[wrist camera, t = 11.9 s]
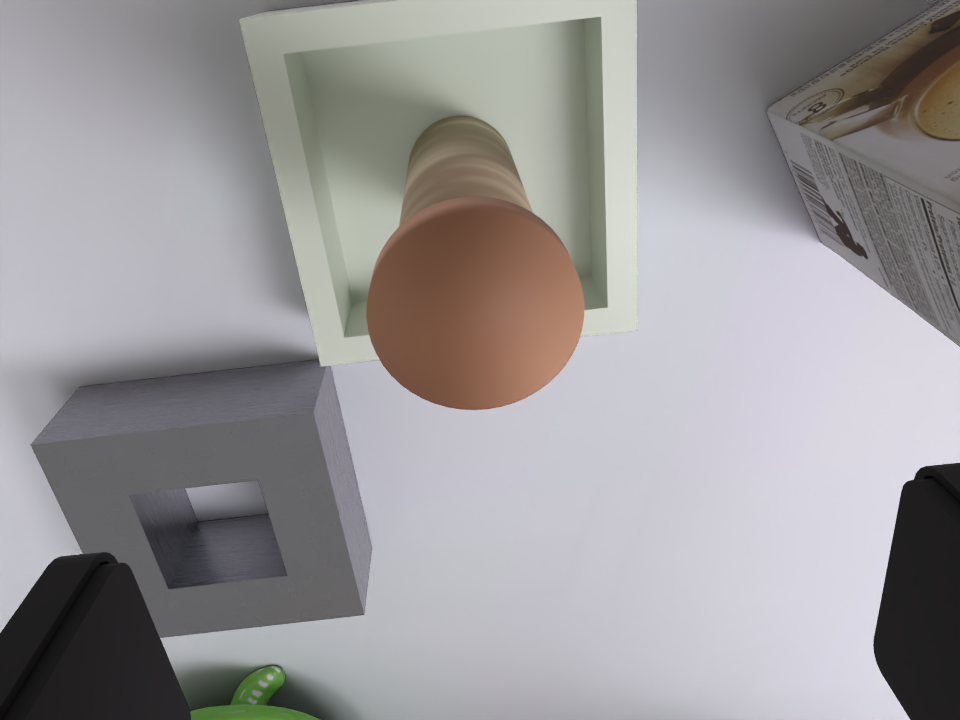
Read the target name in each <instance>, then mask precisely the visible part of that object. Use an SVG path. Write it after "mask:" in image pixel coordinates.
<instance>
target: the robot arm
mask: <svg viewBox="0 0 960 720" xmlns="http://www.w3.org/2000/svg"><path fill="white" fill-rule="evenodd" d="M873 646H874V654H875V658H876V662H877V664H878V667H879V669H880V671H881V673H882V675H883V677H884V678H885V680H886V681H887V683H888V685H889V686H890V688H891V689H892V691H893V693H894V694H895V696H896V697H897V699H898V701H899V702H900V704H901V705H902V707H903V709H904V710H905V712H906V713H907V715H908V716H909V718H910V720H960V463H954V464H944V465H934V466H926V467H923V468H920V470H919V471H918V472H917V473H916V475H915V478H914V480H911V481H908V482H906V483H905V484H904V486H903V489H902V492H901V497H900V503H899V508H898V513H897V519H896V524H895V529H894V535H893V540H892V545H891V551H890V556H889V561H888V567H887V572H886V577H885V583H884V588H883V593H882V599H881V604H880V609H879V615H878V620H877V626H876V631H875V636H874V645H873ZM0 720H191V713H190V710H189V707H188V704H187V702H186V700H185V697H184V695H183V692H182V690H181V688H180V685H179V683H178V680H177V678H176V676H175V673H174V671H173V668H172V666H171V663H170V661H169V659H168V656H167V654H166V651H165V649H164V647H163V644H162V642H161V639H160V637H159V635H158V632H157V630H156V627H155V625H154V622H153V620H152V618H151V615H150V613H149V610H148V608H147V606H146V603H145V601H144V598H143V596H142V593H141V591H140V589H139V586H138V584H137V581H136V579H135V577H134V574H133V572H132V570H131V568H130V566H129V565H127V564H126V563H118V561H117V560H116V558H115V557H114V556H113V555H112V554H111V553H107V552H100V553H90V554H80V555H71V556H61V557H58V558H56V559H54V560H53V561H52V562H51V563H50V564H49V565H48V566H47V568H46V569H45V571H44V572H43V574H42V575H41V576H40V578H39V579H38V581H37V582H36V583H35V585H34V586H33V588H32V589H31V591H30V592H29V593H28V595H27V596H26V598H25V599H24V600H23V602H22V603H21V605H20V606H19V608H18V609H17V610H16V612H15V613H14V615H13V616H12V617H11V619H10V620H9V622H8V623H7V625H6V626H5V627H4V629H3V630H2V632H1V633H0Z"/></svg>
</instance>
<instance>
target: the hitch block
mask: <svg viewBox="0 0 960 720" xmlns="http://www.w3.org/2000/svg"><path fill="white" fill-rule="evenodd" d="M31 446H32V449H33V451H34V453H35V455H36V457H37V459H38V461H39V463H40V465H41V467H42V469H43V471H44V473H45V476H46V478H47V480H48V482H49V484H50V486H51V488H52V490H53V492H54V494H55V496H56V498H57V501H58V503H59V505H60V507H61V509H62V511H63V513H64V515H65V517H66V519H67V521H68V523H69V526H70V528H71V530H72V532H73V534H74V536H75V538H76V540H77V542H78V544H79V546H80V548H81V550H82V553H83V554H90V553H100V552H107V553H111V554H112V555H113V556H114V557H115V558H116V560H117V561H118V563H126V564H127V565H129V566H130V568H131V570H132V572H133V574H134V577H135V579H136V581H137V584H138V586H139V589H140V591H141V593H142V596H143V598H144V601H145V603H146V606H147V608H148V610H149V613H150V615H151V618H152V620H153V622H154V625H155V627H156V630H157V632H158V635H159V637H160V638H163V637H172V636H181V635H190V634H199V633H208V632H217V631H225V630H234V629H243V628H252V627H261V626H270V625H279V624H288V623H297V622H306V621H315V620H324V619H333V618H341V617H350V616H359V615H364V614H365V605H366V596H367V587H368V579H369V570H370V561H371V553H372V545H371V541H370V536H369V532H368V528H367V523H366V519H365V515H364V510H363V506H362V502H361V497H360V493H359V488H358V484H357V480H356V475H355V471H354V467H353V462H352V458H351V454H350V449H349V445H348V441H347V436H346V432H345V428H344V423H343V419H342V414H341V410H340V406H339V401H338V397H337V393H336V388H335V384H334V380H333V375H332V371H331V367H330V366H323V367H321V365H320V361H319V360H310V361H302V362H293V363H284V364H275V365H267V366H258V367H249V368H240V369H232V370H223V371H214V372H205V373H197V374H188V375H179V376H171V377H162V378H153V379H144V380H136V381H127V382H118V383H109V384H101V385H92V386H83V387H79V388H78V389H77V390H76V392H75V393H74V394H73V395H72V396H71V398H70V399H69V400H68V401H67V402H66V403H65V405H64V406H63V407H62V408H61V409H60V411H59V412H58V413H57V414H56V415H55V417H54V418H53V419H52V420H51V421H50V422H49V424H48V425H47V426H46V427H45V428H44V430H43V431H42V432H41V433H40V434H39V435H38V437H37V438H36V439H35V440H34V441H33V443H32V444H31ZM253 480H258V481H259V484H260V488H261V491H262V494H263V497H264V500H265V504H266V507H267V510H268V513H269V514H266V515H257V516H248V517H240V518H231V519H222V520H213V521H204V522H197V520H196V518H195V515H194V512H193V509H192V507H191V504H190V501H189V499H188V496H187V493H186V491H185V488H192V487H200V486H209V485H218V484H227V483H236V482H245V481H253Z"/></svg>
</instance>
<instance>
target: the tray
mask: <svg viewBox="0 0 960 720" xmlns="http://www.w3.org/2000/svg"><path fill="white" fill-rule="evenodd" d="M239 23H240V27H241V31H242V36H243V40H244V44H245V48H246V53H247V57H248V61H249V65H250V69H251V74H252V78H253V82H254V86H255V91H256V95H257V99H258V103H259V107H260V112H261V116H262V120H263V124H264V129H265V133H266V137H267V141H268V145H269V150H270V154H271V158H272V162H273V167H274V171H275V175H276V179H277V183H278V188H279V192H280V196H281V200H282V205H283V209H284V213H285V217H286V221H287V226H288V230H289V234H290V238H291V243H292V247H293V251H294V255H295V259H296V264H297V268H298V272H299V276H300V281H301V285H302V289H303V293H304V297H305V302H306V306H307V310H308V314H309V318H310V323H311V327H312V331H313V335H314V340H315V344H316V348H317V352H318V356H319V361H320V365H321V367H323V366H331V365H340V364H349V363H358V362H366V361H375V360H380V359H379V358H378V356H377V354H376V352H375V350H374V347H373V345H372V343H371V339H370V336H369V332H368V326H367V318H366V312H367V299H368V293H369V288H370V283H371V278H372V274H373V270H374V267H375V264H376V261H377V258H378V256H379V254H380V252H381V250H382V248H383V247H384V245H385V244H386V242H387V241H388V239H389V238H390V236H391V235H392V234H393V233H394V232H395V231H396V230H397V228H398V227H399V223H400V217H401V210H402V203H403V197H404V190H405V184H406V177H407V170H408V164H409V158H410V154H411V151H412V148H413V146H414V144H415V142H416V140H417V139H418V137H419V136H420V135H421V133H422V132H423V131H424V130H425V129H426V128H428V127H429V126H430V125H432V124H433V123H435V122H437V121H439V120H441V119H444V118H447V117H452V116H470V117H474V118H478V119H480V120H483V121H485V122H486V123H488V124H490V125H491V126H492V127H494V128H495V129H496V130H497V131H498V132H499V133H500V134H501V135H502V137H503V138H504V140H505V141H506V143H507V145H508V147H509V149H510V152H511V155H512V157H513V160H514V163H515V165H516V168H517V171H518V173H519V176H520V179H521V181H522V184H523V187H524V190H525V192H526V195H527V198H528V200H529V203H530V206H531V208H532V211H533V213H534V214H535V215H537V216H538V217H540V218H541V219H542V220H543V221H544V222H545V223H547V224H548V225H549V226H550V227H551V228H552V229H553V230H554V232H555V233H556V234H557V235H558V237H559V238H560V239H561V241H562V243H563V244H564V246H565V247H566V249H567V251H568V254H569V256H570V258H571V260H572V263H573V265H574V267H575V269H576V272H577V274H578V276H579V279H580V282H581V286H582V290H583V296H584V321H583V327H582V332H581V335H580V337H585V336H594V335H602V334H611V333H620V332H629V331H637V0H359V1H351V2H342V3H334V4H325V5H317V6H308V7H300V8H291V9H283V10H274V11H266V12H262V13H258V14H255V15H251V16H248V17H245V18H241V19H239Z"/></svg>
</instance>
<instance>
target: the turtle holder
mask: <svg viewBox="0 0 960 720" xmlns="http://www.w3.org/2000/svg"><path fill="white" fill-rule="evenodd" d="M284 680H285V674H284V672H283V670H282V669H281V668H280V667H278V666H269V667H265V668H261V669H258V670H257V671H255V672H253V673H251V674H250V675H249V676H247V677H246V678H245V679H244V680H243V681H242V682H241V684H240V685H239V686H238V688H237V690H236V692H235V694H234V696H233V699H232V701H231V703H230V705H226V706H214V707H206V708H201V709H197V710H193V711H190V713H191V720H320V719H318V718H316V717H314V716H311V715H309V714H306V713H303V712H300V711H296V710H292V709H287V708H282V707H276V706H266V704H267V702H268V700H269V698H270V697H272V696H273V695H274V694H275V693H276V692H277V691H278V690H279V688H280V687H281V686H282V685H283V683H284Z"/></svg>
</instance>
